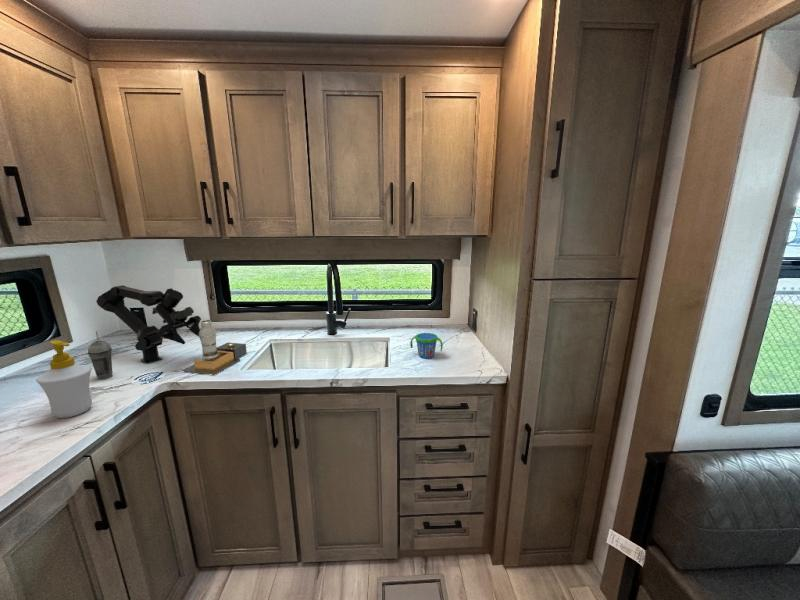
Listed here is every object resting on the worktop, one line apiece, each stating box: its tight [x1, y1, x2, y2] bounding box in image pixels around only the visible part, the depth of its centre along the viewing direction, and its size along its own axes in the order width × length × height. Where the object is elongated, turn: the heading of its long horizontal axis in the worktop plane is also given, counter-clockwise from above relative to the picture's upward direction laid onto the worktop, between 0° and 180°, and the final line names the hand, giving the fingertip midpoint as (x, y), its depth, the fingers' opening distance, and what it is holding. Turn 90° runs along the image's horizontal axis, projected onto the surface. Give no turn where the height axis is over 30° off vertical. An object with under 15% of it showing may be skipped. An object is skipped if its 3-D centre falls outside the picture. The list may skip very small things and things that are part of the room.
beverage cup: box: [87, 330, 113, 381], centre depth 132 cm, size 7×7×20 cm
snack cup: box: [409, 332, 444, 359], centre depth 157 cm, size 16×10×10 cm
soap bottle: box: [35, 339, 93, 419], centre depth 106 cm, size 13×13×25 cm
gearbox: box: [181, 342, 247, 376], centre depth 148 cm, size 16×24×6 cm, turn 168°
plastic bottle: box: [198, 319, 220, 361], centre depth 143 cm, size 6×7×20 cm
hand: (193, 340), depth 144 cm, fingers open, 9 cm apart
